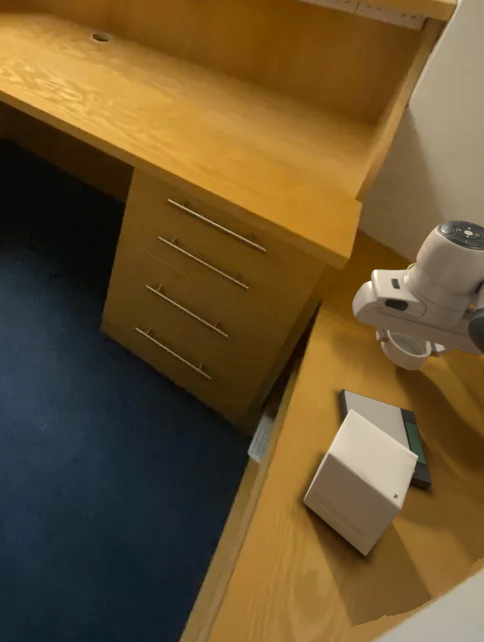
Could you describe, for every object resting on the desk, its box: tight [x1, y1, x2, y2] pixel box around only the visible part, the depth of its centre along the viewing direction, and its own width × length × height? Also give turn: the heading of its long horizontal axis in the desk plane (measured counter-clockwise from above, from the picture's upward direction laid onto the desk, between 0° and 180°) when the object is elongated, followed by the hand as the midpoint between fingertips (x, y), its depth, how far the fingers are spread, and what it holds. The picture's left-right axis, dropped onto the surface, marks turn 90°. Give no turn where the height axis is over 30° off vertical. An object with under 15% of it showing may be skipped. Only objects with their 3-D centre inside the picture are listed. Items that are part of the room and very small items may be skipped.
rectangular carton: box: [303, 409, 418, 557], centre depth 74 cm, size 9×9×15 cm
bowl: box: [380, 330, 432, 371], centre depth 95 cm, size 7×7×4 cm
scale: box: [338, 388, 433, 490], centre depth 84 cm, size 11×11×3 cm
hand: (405, 345), depth 95 cm, fingers closed on bowl, 7 cm apart
